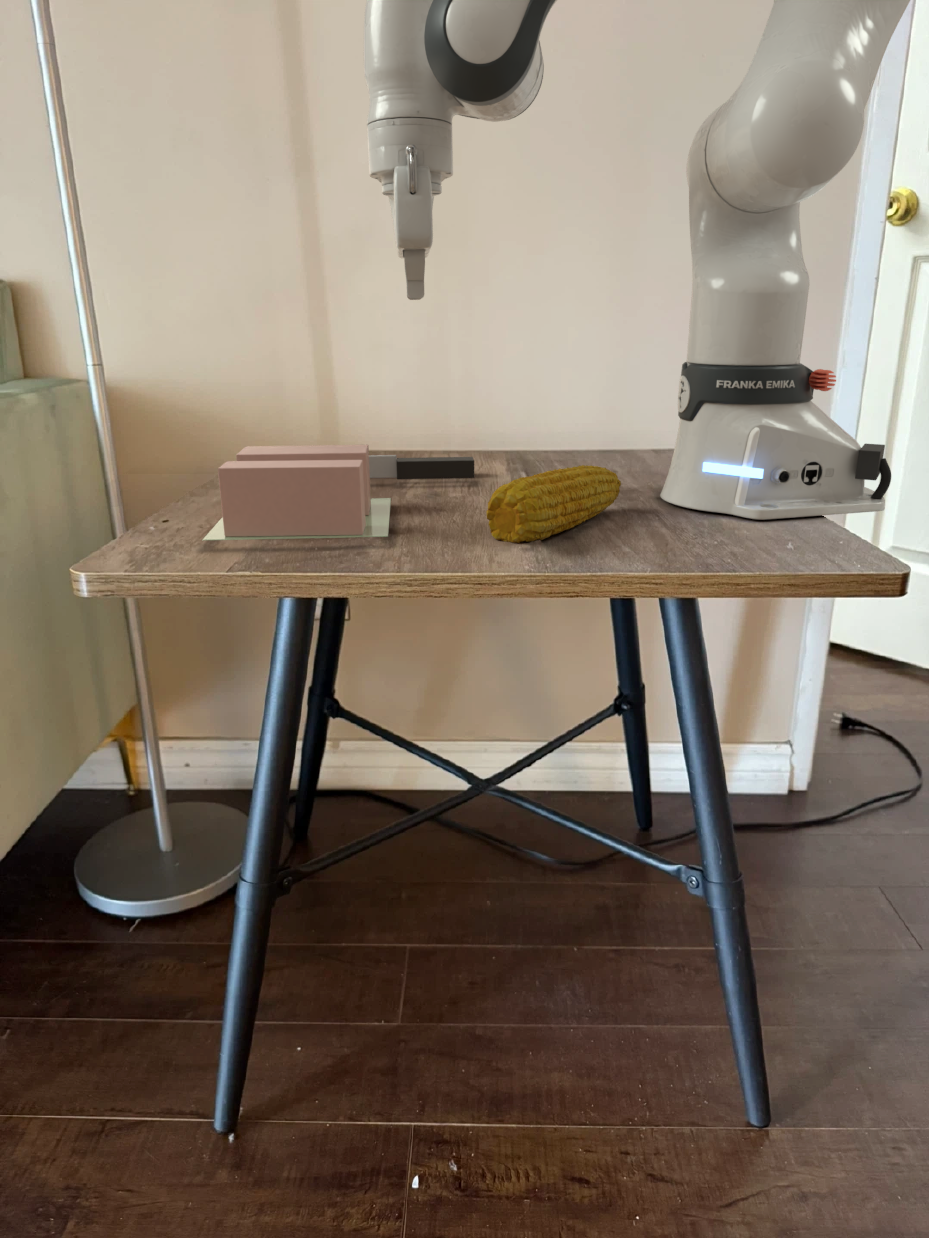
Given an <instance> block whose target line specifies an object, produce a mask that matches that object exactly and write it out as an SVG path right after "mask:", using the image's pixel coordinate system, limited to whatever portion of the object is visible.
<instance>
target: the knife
mask: <svg viewBox="0 0 929 1238" xmlns="http://www.w3.org/2000/svg"><path fill="white" fill-rule="evenodd" d="M369 470H370V479H390V478H391V479H392V478H393V479H396V480H435V479H437V480H438V479H439V480H440V479H442V480H443V479H475V459H474V457H473V456H439V457H437V456H435V457H433V456H431V457H430V456H429V457H428V456H427V457H397V454H384V455H383V454H382V455H381V454H379V455H369Z"/></svg>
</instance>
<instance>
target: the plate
mask: <svg viewBox="0 0 929 1238" xmlns="http://www.w3.org/2000/svg"><path fill="white" fill-rule="evenodd" d="M391 506H392V498H391V497H371V506H370V512H369V515H365V520H366V526H365V529H364V532H363V535H320V536H245V537H225V535H224V525H223V516H222V517H221V518H220V519H219V520H218V521H217V522H216V524H215V525H214V526H213V527H212V528H211V529H210V530H209V532H208V533H206V535H205V536H204V537H203V538H202V541H235V540H236V541H238V540H239V541H240V540H243V541H244V540H284V539H285V540H288V539H289V540H290V539H293V540H294V539H335V538H339V539H342V538H378V537H379V538H386V537H389V532H390V531H389V529H390V517H391V508H392V507H391Z"/></svg>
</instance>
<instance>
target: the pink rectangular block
mask: <svg viewBox="0 0 929 1238" xmlns="http://www.w3.org/2000/svg"><path fill="white" fill-rule="evenodd" d="M369 456H370V449H369V444H319V445H318V444H316V445H315V444H313V445H312V444H309V445H250V446H249V445H247V446H246V445H245V446H244V447H243V448H242V449H241V450H240V451H239V452H237V453H236V454H235V459H236V460H235V461H295V460H363V476H364V498H365V515H369V512H370V506H371V498H372V497H371V496H372V494H371V478H370V470H369Z"/></svg>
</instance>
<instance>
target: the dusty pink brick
mask: <svg viewBox="0 0 929 1238" xmlns="http://www.w3.org/2000/svg"><path fill="white" fill-rule="evenodd" d="M217 474H218V486H219V495H220V496H219V497H220V504H221V506H220V507H221V514H222V517H223V525H224V535H225V537H245V536H320V535H363V532H364V529H365V526H366V520H365V498H364V476H363V460H295V461H237V460H226V461H225V462H224V463H222V464H221V465H220V466H219V467H218V468H217Z"/></svg>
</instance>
